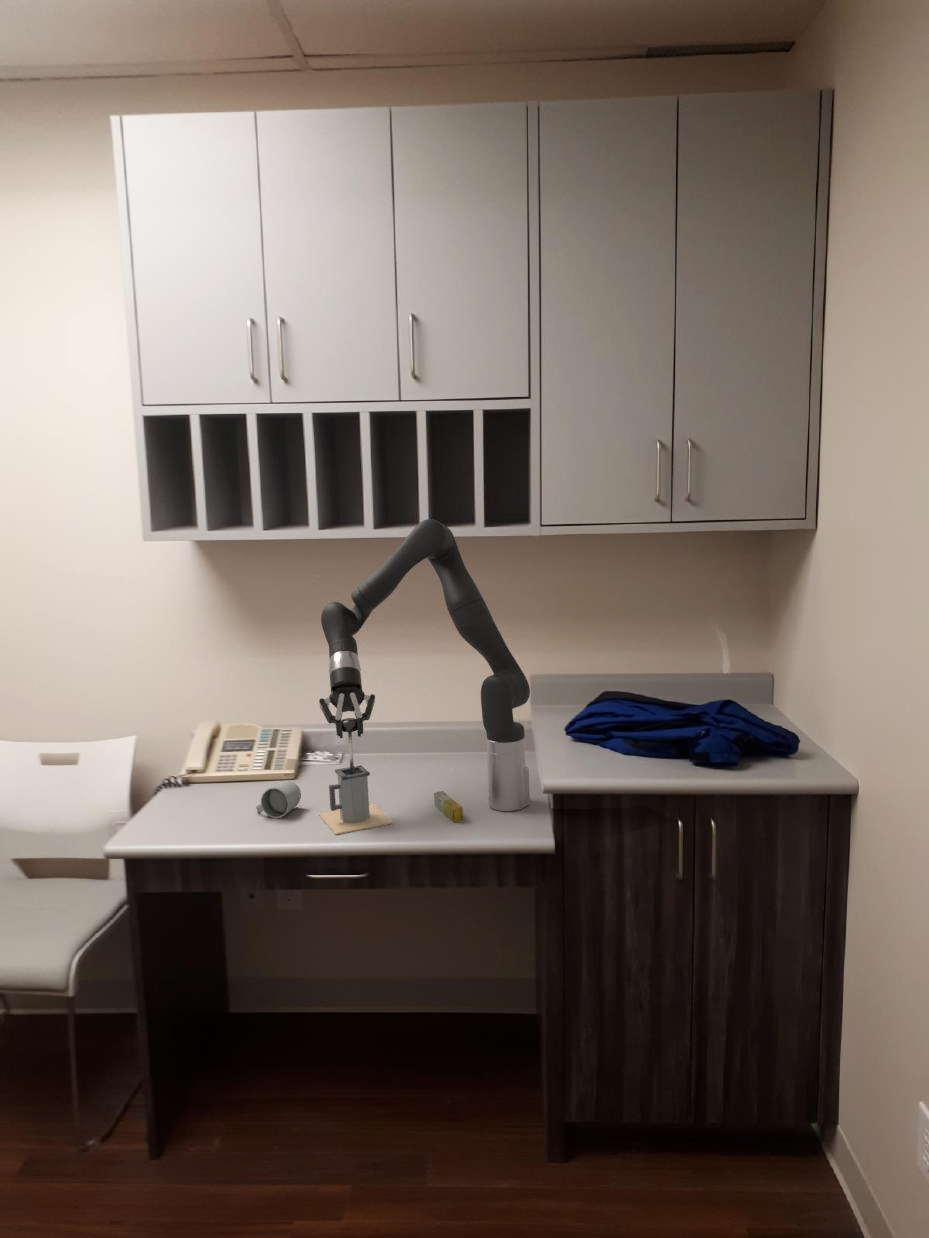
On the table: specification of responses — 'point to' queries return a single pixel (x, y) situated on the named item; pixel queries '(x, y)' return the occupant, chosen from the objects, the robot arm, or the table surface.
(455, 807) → the medication box
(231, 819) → the table surface
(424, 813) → the table surface
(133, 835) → the table surface
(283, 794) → the ceramic mug
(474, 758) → the table surface
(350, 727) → the plunger
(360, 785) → the carafe
